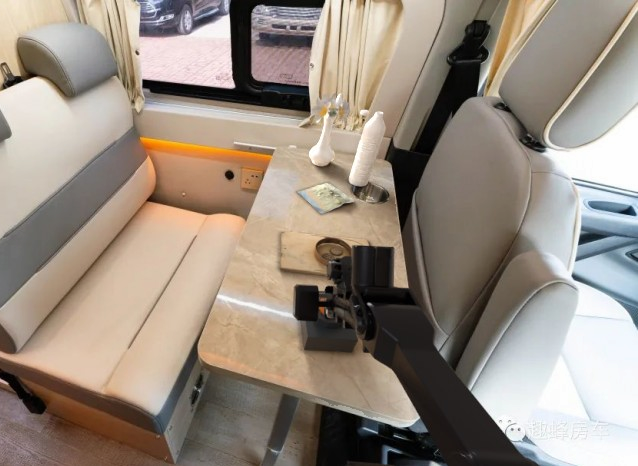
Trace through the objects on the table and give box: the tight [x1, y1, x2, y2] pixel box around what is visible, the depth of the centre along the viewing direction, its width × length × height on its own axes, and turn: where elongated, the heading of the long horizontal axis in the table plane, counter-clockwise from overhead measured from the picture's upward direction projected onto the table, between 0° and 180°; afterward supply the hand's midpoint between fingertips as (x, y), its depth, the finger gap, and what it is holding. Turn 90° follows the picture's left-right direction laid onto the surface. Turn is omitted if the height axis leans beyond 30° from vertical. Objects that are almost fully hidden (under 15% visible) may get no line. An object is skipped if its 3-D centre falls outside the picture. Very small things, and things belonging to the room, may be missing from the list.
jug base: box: [299, 290, 359, 353], centre depth 71 cm, size 12×10×7 cm
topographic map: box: [297, 182, 355, 215], centre depth 109 cm, size 14×14×2 cm
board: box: [279, 230, 371, 277], centre depth 89 cm, size 25×15×3 cm, turn 82°
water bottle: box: [348, 109, 387, 187], centre depth 108 cm, size 9×6×25 cm
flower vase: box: [309, 93, 351, 167], centre depth 119 cm, size 13×18×25 cm
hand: (334, 297), depth 66 cm, fingers closed
